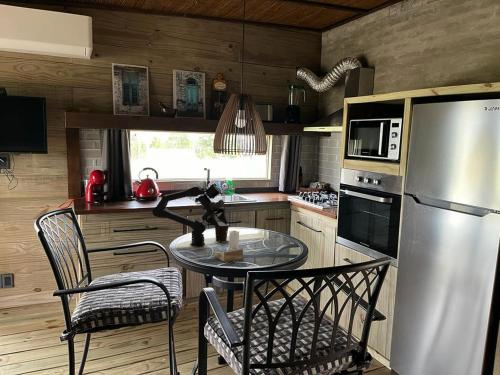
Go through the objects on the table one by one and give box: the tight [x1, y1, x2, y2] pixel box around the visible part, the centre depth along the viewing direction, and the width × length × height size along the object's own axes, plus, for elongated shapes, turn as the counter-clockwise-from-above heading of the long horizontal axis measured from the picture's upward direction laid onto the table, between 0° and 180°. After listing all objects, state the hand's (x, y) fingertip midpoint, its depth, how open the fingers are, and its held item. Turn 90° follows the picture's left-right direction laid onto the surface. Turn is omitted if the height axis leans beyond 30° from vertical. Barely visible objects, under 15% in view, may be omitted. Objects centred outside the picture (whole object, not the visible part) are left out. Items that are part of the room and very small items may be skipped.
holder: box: [213, 247, 244, 263], centre depth 202 cm, size 10×11×5 cm
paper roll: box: [228, 230, 240, 250], centre depth 214 cm, size 5×5×11 cm
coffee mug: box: [214, 222, 230, 242], centre depth 233 cm, size 12×9×10 cm
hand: (223, 225), depth 216 cm, fingers open, 9 cm apart
